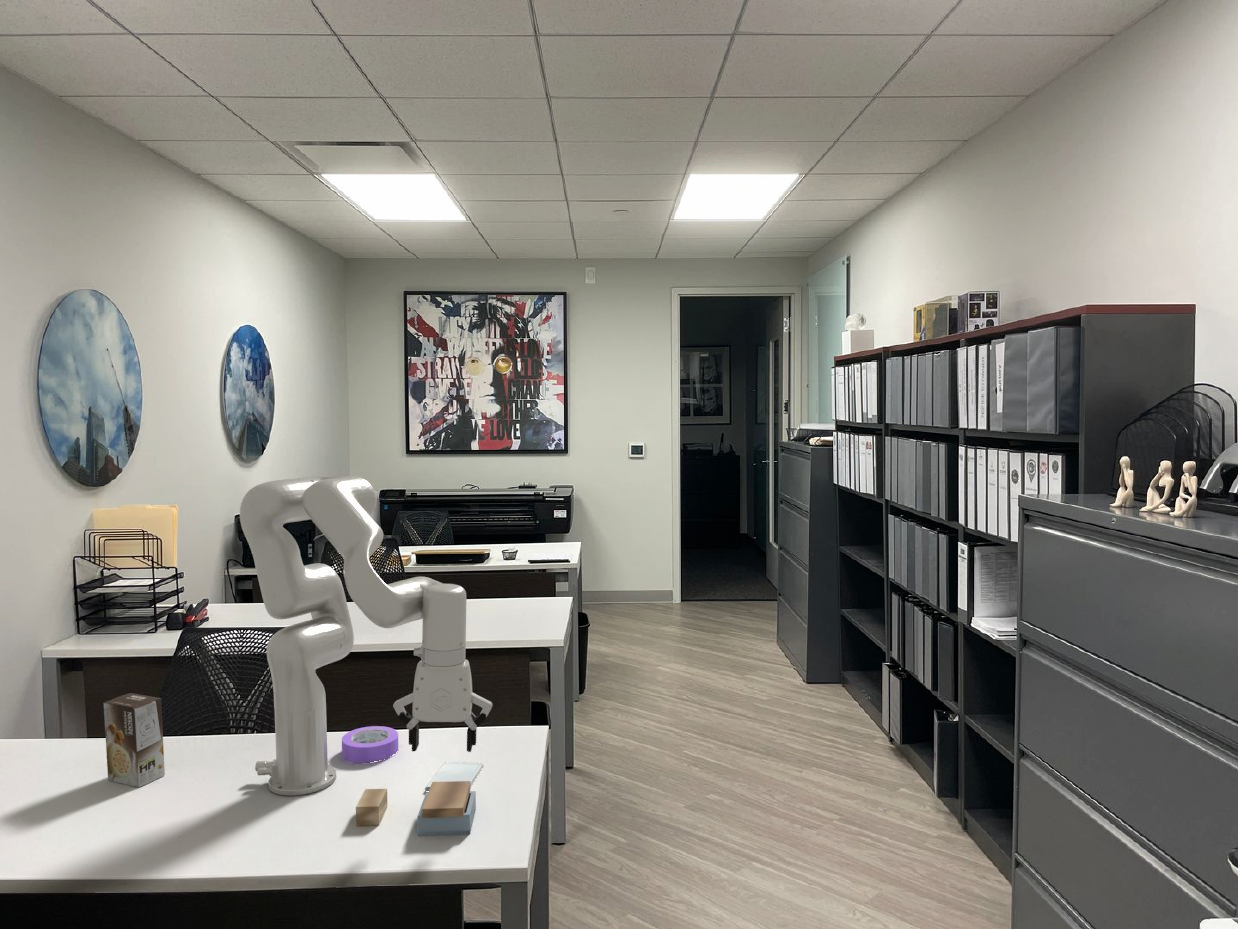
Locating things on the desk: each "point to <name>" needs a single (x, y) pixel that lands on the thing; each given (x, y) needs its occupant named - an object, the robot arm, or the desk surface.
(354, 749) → the masking tape
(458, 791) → the lid
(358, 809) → the wooden block
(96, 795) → the desk surface
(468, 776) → the hard drive
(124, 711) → the coffee box
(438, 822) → the light blue open tray
